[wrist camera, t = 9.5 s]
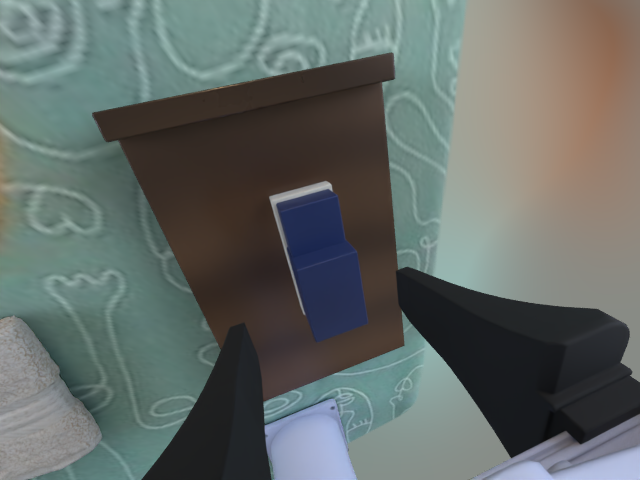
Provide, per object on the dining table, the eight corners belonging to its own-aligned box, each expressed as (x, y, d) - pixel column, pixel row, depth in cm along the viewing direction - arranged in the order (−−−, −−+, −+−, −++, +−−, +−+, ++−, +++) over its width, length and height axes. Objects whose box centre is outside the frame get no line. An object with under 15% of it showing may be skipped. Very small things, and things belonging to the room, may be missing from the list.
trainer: (347, 290, 21) (370, 326, 18) (300, 306, 20) (315, 346, 17) (326, 180, 17) (351, 196, 14) (268, 196, 17) (279, 217, 13)
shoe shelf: (390, 327, 27) (414, 358, 24) (247, 382, 25) (250, 425, 22) (361, 64, 18) (394, 51, 14) (122, 113, 15) (89, 113, 12)
